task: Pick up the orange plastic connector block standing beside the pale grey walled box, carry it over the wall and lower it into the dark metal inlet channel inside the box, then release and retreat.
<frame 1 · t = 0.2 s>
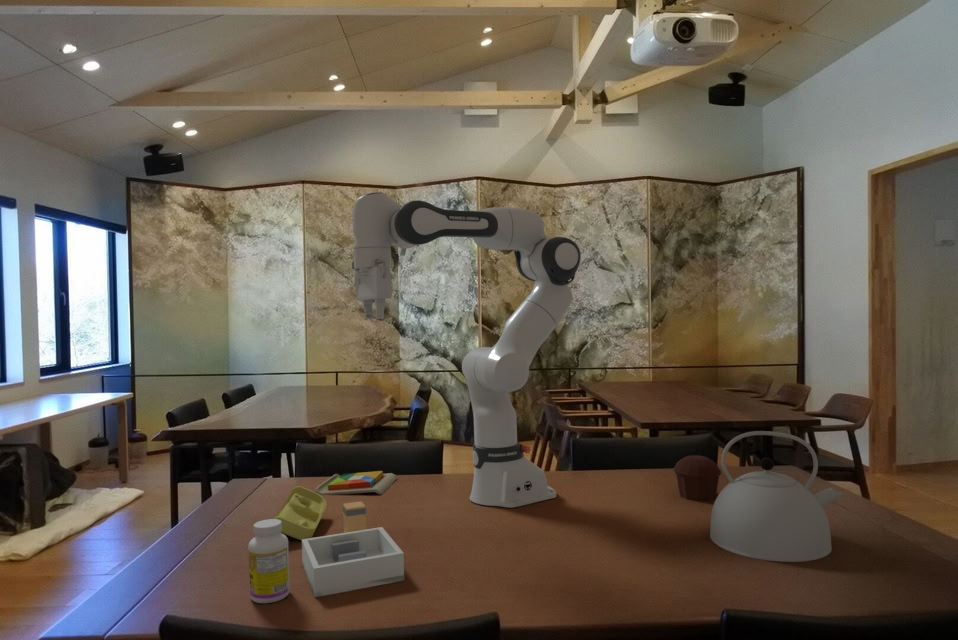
hand: (374, 319, 155), 47 cm above the table, tool pointing down, fingers open, 8 cm apart
supplement bottle: (270, 597, 113), on the table
kettle: (775, 542, 133), on the table
wooden puzzle: (357, 488, 184), on the table
connector: (355, 542, 139), on the table
muffin: (697, 496, 165), on the table
plastic component: (298, 530, 149), on the table
walled box: (351, 572, 123), on the table
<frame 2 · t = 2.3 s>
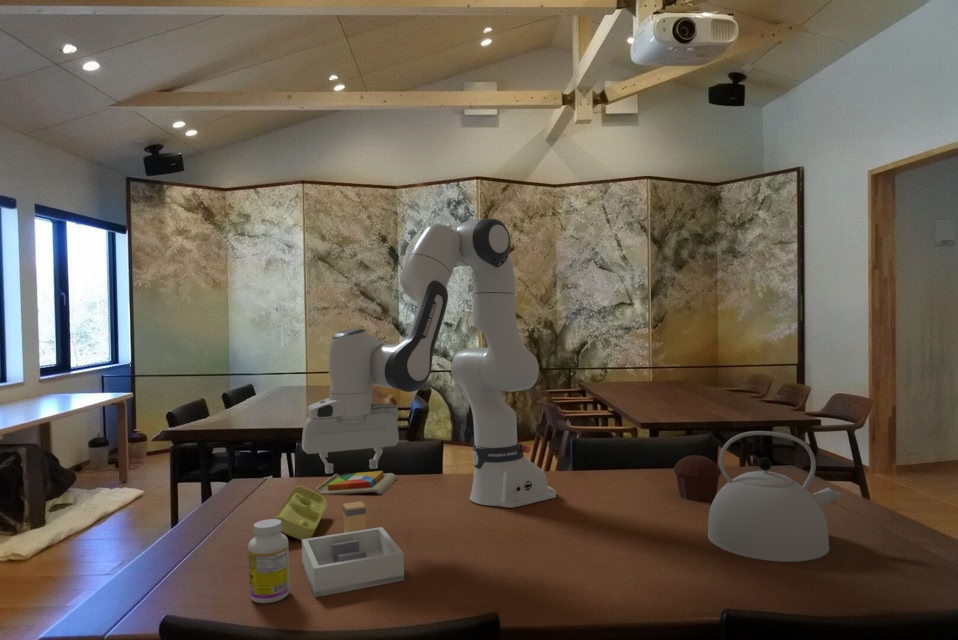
hand: (351, 470, 138), 15 cm above the table, tool pointing down, fingers open, 8 cm apart
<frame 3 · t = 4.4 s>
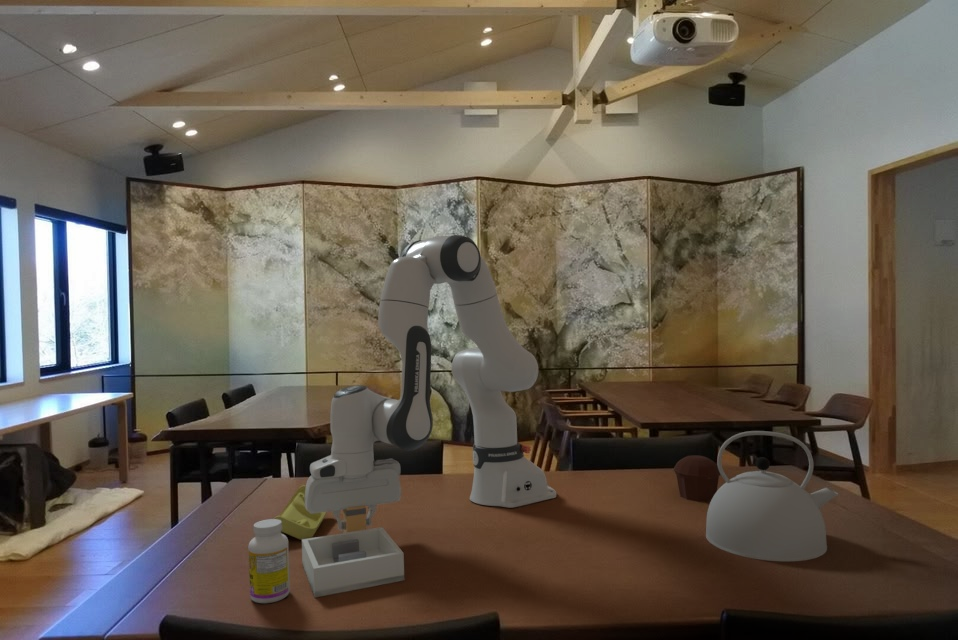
hand: (354, 527, 139), 3 cm above the table, tool pointing down, fingers closed on connector, 4 cm apart
connector: (355, 542, 139), on the table, touching gripper
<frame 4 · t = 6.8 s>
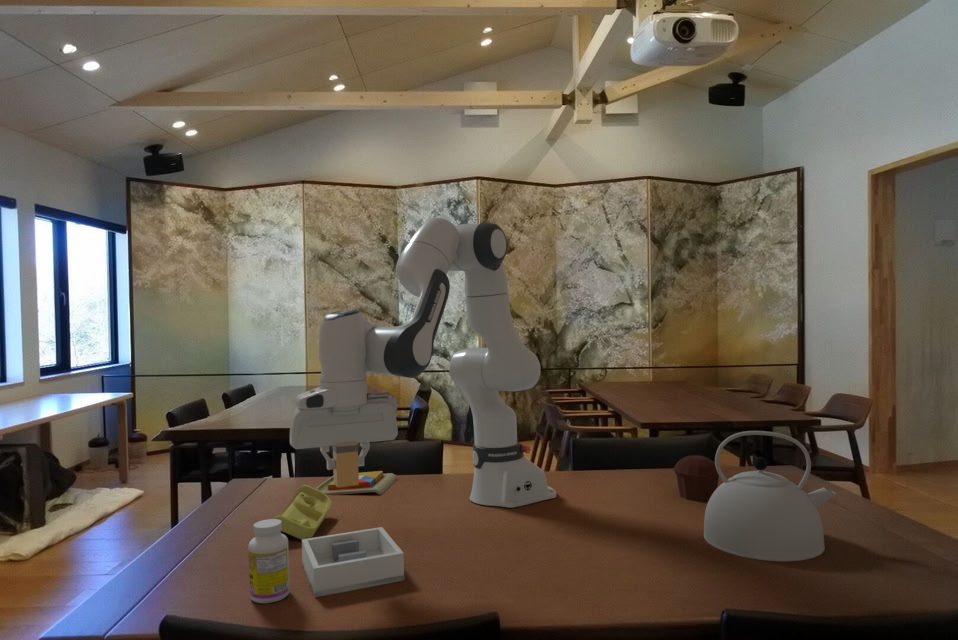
hand: (345, 467, 124), 19 cm above the table, tool pointing down, fingers closed on connector, 4 cm apart
connector: (346, 483, 124), point 16 cm above the table, touching gripper
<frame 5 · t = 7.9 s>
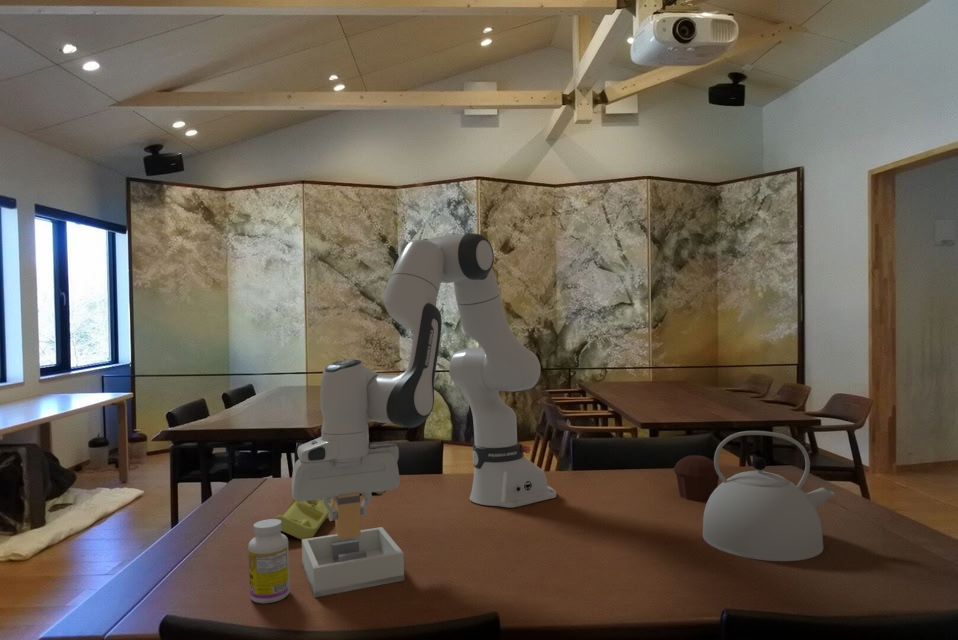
hand: (347, 517, 124), 10 cm above the table, tool pointing down, fingers closed on connector, 4 cm apart
connector: (348, 533, 124), point 7 cm above the table, touching gripper
when the fingers open (5 cm above the table, at t = 9.6 s): connector stays where it is, resting on walled box.
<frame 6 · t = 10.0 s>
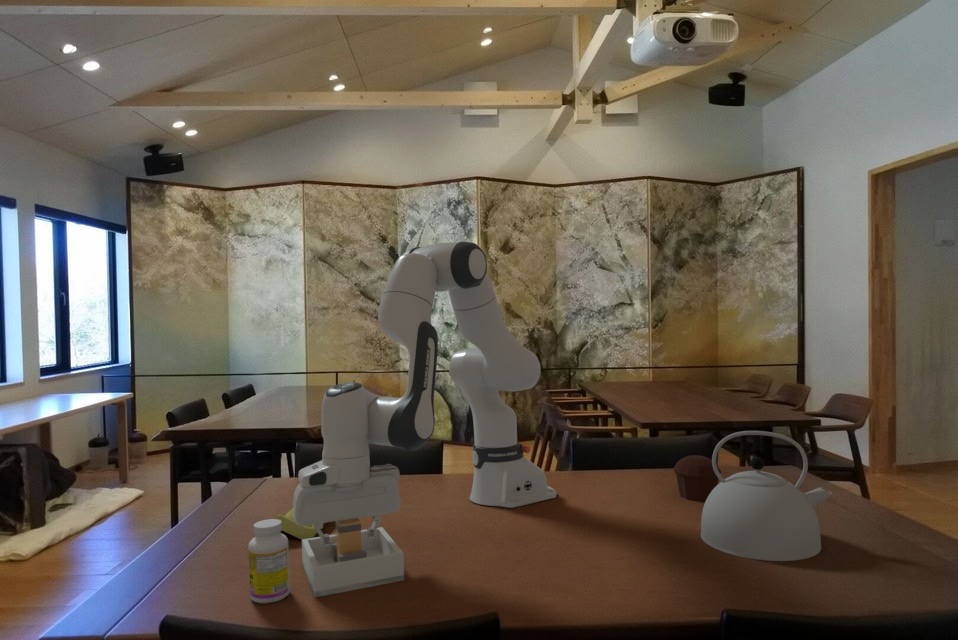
hand: (348, 541, 124), 5 cm above the table, tool pointing down, fingers open, 8 cm apart
connector: (349, 561, 124), point 1 cm above the table, touching walled box
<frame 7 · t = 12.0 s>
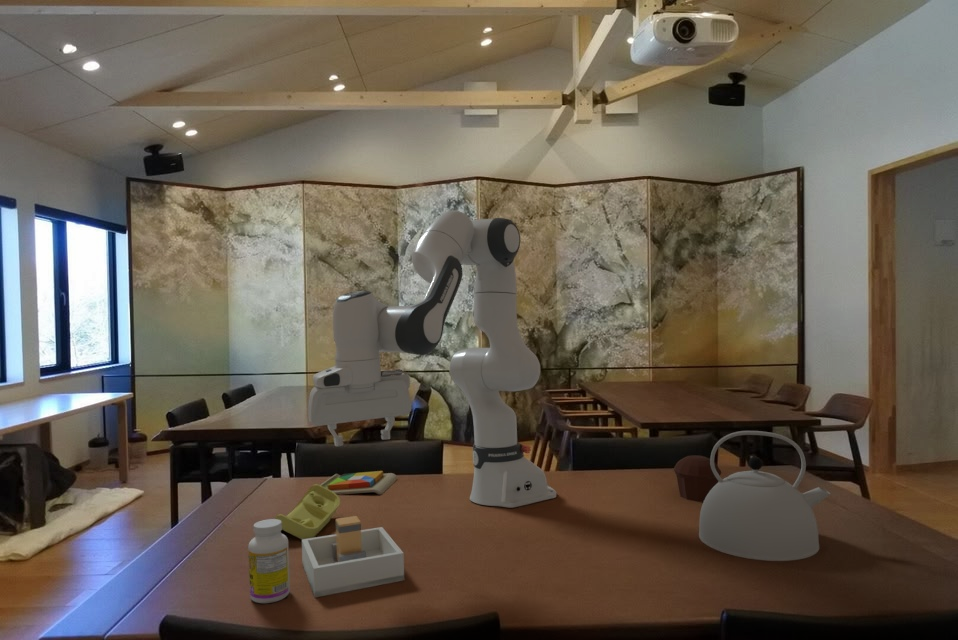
hand: (362, 442, 130), 23 cm above the table, tool pointing down, fingers open, 8 cm apart
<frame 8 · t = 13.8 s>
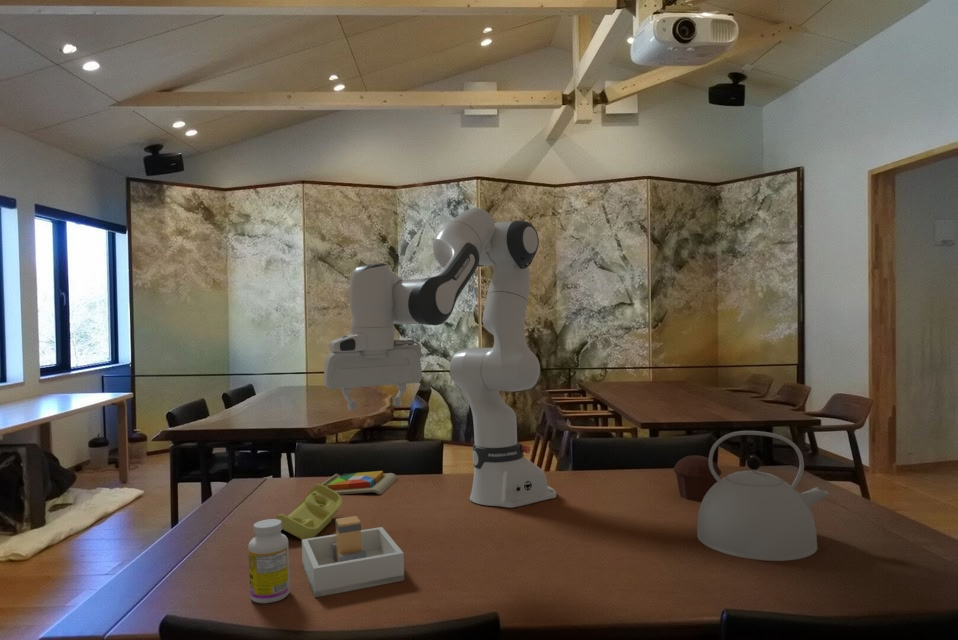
hand: (374, 407, 135), 29 cm above the table, tool pointing down, fingers open, 8 cm apart
at the end: connector 0.0 cm from the target spot on the walled box, point 1.3 cm above the walled box's base; connector tilted 0°; the gripper is holding nothing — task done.
